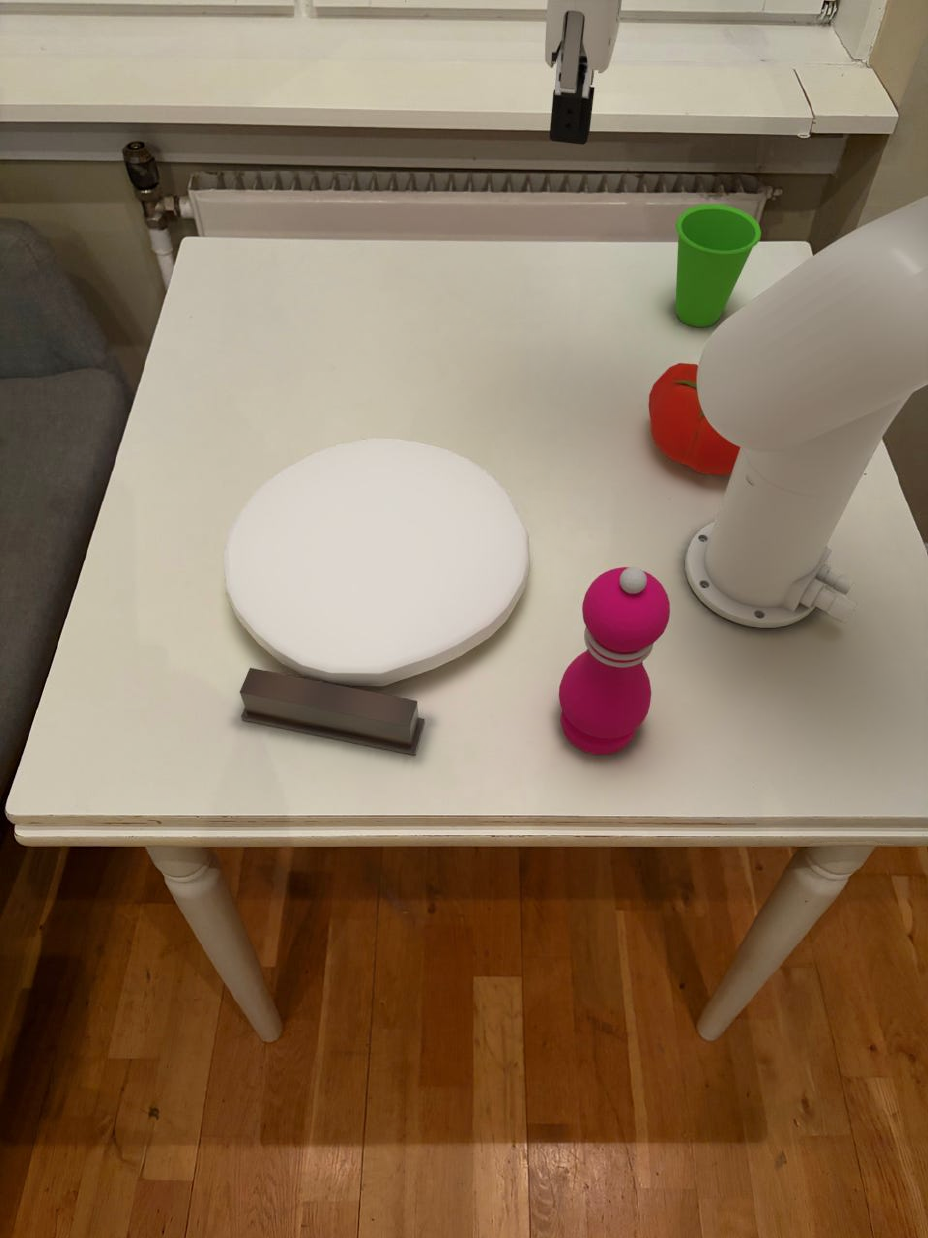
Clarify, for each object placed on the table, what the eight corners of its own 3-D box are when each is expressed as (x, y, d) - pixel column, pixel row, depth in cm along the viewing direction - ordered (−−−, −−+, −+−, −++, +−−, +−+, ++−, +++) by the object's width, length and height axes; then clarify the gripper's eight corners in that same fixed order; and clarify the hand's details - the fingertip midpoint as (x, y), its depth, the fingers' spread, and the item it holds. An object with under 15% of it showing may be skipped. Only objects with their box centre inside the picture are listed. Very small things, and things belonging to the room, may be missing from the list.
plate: (363, 391, 95) (590, 509, 86) (363, 442, 100) (578, 559, 91) (149, 544, 79) (400, 708, 70) (162, 596, 84) (398, 755, 75)
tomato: (788, 450, 97) (814, 385, 90) (710, 510, 92) (731, 446, 85) (693, 388, 103) (710, 322, 96) (614, 441, 98) (627, 376, 91)
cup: (645, 297, 112) (662, 211, 103) (715, 284, 113) (737, 197, 105) (678, 344, 107) (698, 257, 98) (750, 330, 108) (777, 243, 100)
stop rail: (424, 722, 78) (423, 697, 75) (415, 756, 76) (413, 732, 73) (255, 688, 80) (246, 662, 77) (241, 720, 78) (232, 695, 75)
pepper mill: (536, 721, 78) (557, 571, 62) (593, 669, 81) (628, 513, 65) (602, 778, 75) (643, 636, 59) (659, 722, 78) (712, 572, 62)
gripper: (637, -80, 61) (601, 190, 76) (659, -156, 70) (622, 100, 85) (523, -91, 62) (510, 179, 77) (558, -164, 71) (540, 91, 85)
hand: (569, 137), depth 81 cm, fingers closed
